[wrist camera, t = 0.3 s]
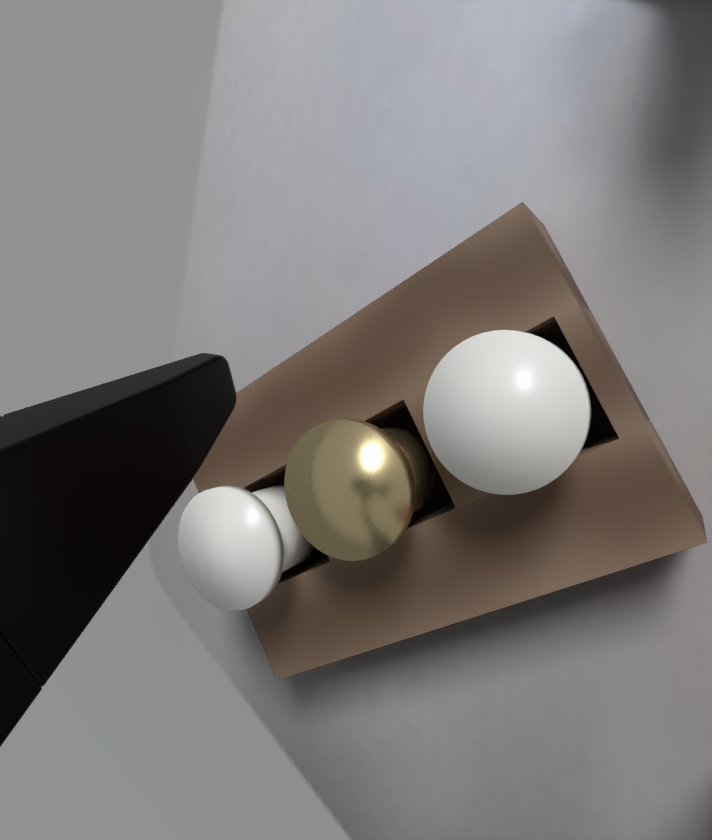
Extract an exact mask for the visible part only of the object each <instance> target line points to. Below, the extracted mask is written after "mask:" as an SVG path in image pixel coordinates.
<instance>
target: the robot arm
mask: <svg viewBox="0 0 712 840" xmlns="http://www.w3.org/2000/svg"><path fill="white" fill-rule="evenodd" d="M235 405H236V391H235V387H234V384H233V380H232V376H231V372H230V368H229V364H228V362H227V360H226V359H225V358H224V357H223V356H221V355H215V354H208V353H201V354H198V355H194V356H191V357H188V358H185V359H182V360H178V361H175V362H172V363H169V364H166V365H163V366H159V367H156V368H153V369H149V370H146V371H143V372H140V373H137V374H133V375H130V376H127V377H124V378H121V379H117V380H114V381H111V382H108V383H104V384H101V385H98V386H95V387H92V388H88V389H85V390H82V391H79V392H75V393H72V394H69V395H66V396H62V397H59V398H56V399H53V400H50V401H46V402H43V403H40V404H37V405H33V406H30V407H27V408H24V409H21V410H17V411H14V412H11V413H8V414H5V415H4V416H3V417H1V416H0V746H1V745H2V743H3V742H4V741H5V739H6V738H7V737H8V735H9V734H10V733H11V731H12V730H13V728H14V727H15V726H16V724H17V723H18V721H19V720H20V719H21V717H22V716H23V714H24V713H25V712H26V710H27V709H28V708H29V706H30V705H31V703H32V702H33V701H34V699H35V698H36V696H37V695H38V694H39V692H40V691H41V689H42V688H41V686H43V685H44V684H45V683H46V682H47V680H48V679H49V678H50V676H51V675H52V674H53V672H54V671H55V669H56V668H57V667H58V665H59V663H60V662H61V661H62V660H63V658H64V657H65V655H66V654H67V653H68V651H69V650H70V649H71V647H72V646H73V644H74V643H75V642H76V640H77V639H78V637H79V636H80V635H81V633H82V632H83V631H84V629H85V628H86V626H87V625H88V624H89V622H90V621H91V619H92V618H93V617H94V615H95V614H96V612H97V611H98V610H99V608H100V607H101V606H102V604H103V603H104V601H105V600H106V598H107V597H108V596H109V594H110V593H111V592H112V590H113V589H114V588H115V586H116V585H117V583H118V582H119V581H120V579H121V578H122V576H123V575H124V574H125V572H126V571H127V570H128V568H129V567H130V565H131V564H132V562H133V561H134V560H135V558H136V557H137V556H138V554H139V553H140V551H141V550H142V549H143V547H144V546H145V545H146V543H147V542H148V540H149V539H150V538H151V536H152V535H153V533H154V532H155V531H156V529H157V528H158V527H159V525H160V524H161V522H162V521H163V520H164V518H165V517H166V515H167V514H168V513H169V511H170V510H171V509H172V507H173V506H174V504H175V503H176V502H177V500H178V499H179V497H180V496H181V495H182V493H183V492H184V490H185V489H186V488H187V486H188V485H189V484H190V482H191V481H192V479H193V478H194V476H195V475H196V473H197V472H198V470H199V468H200V467H201V465H202V464H203V462H204V460H205V458H206V457H207V455H208V453H209V452H210V450H211V448H212V446H213V445H214V443H215V441H216V439H217V438H218V436H219V434H220V432H221V431H222V429H223V427H224V426H225V424H226V422H227V420H228V419H229V417H230V415H231V413H232V412H233V410H234V408H235Z"/></svg>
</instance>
